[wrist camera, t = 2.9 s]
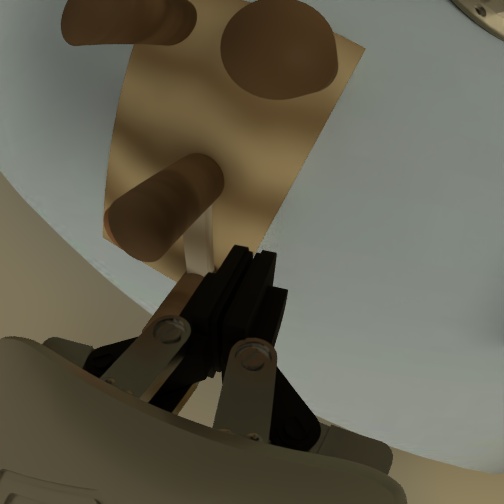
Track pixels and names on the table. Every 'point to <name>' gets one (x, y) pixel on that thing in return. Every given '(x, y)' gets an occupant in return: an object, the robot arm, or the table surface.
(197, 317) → the robot arm
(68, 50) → the table surface
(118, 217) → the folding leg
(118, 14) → the stool seat
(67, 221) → the table surface
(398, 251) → the table surface
